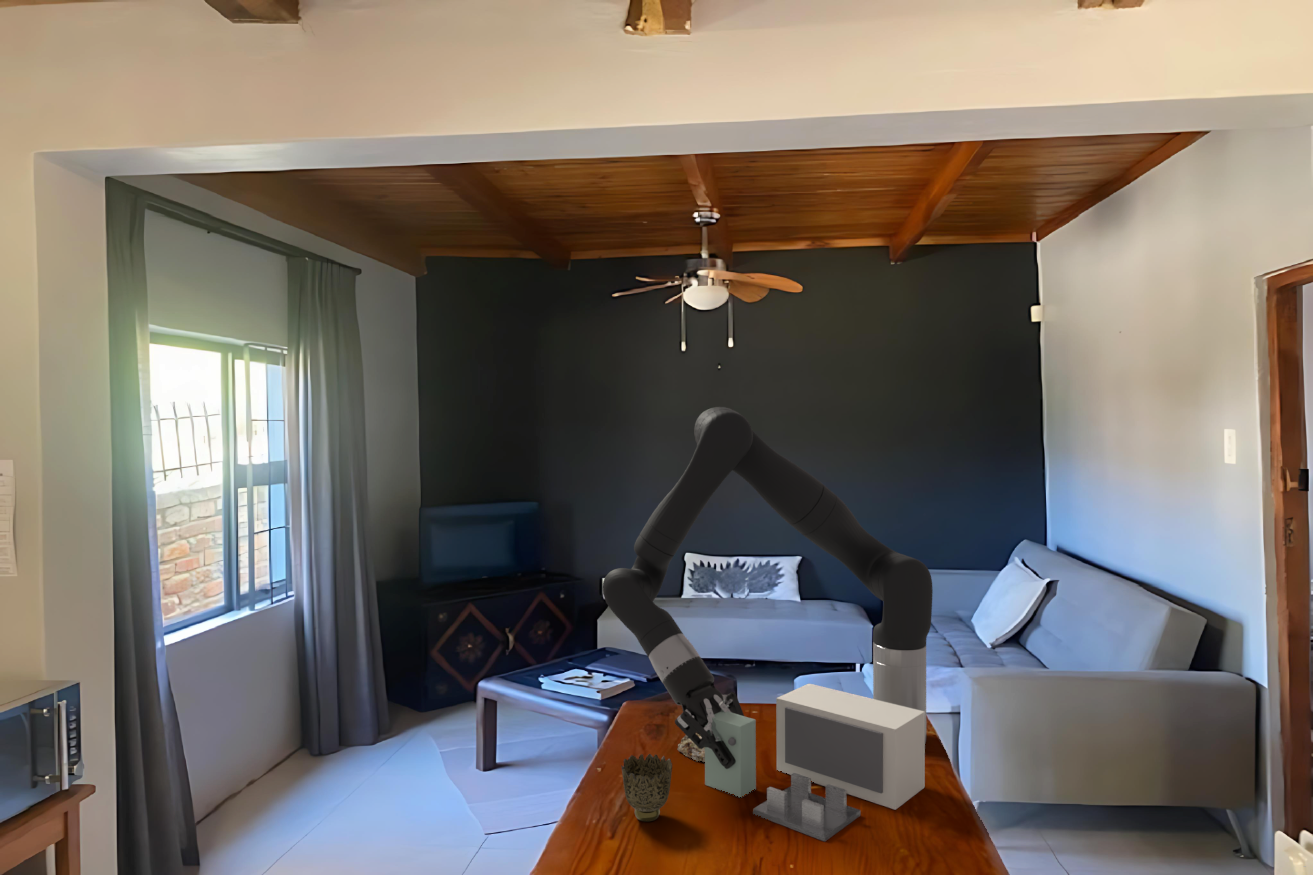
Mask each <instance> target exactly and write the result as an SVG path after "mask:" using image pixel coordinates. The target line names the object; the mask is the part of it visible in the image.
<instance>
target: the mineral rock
mask: <svg viewBox="0 0 1313 875" xmlns="http://www.w3.org/2000/svg"><path fill="white" fill-rule="evenodd" d="M695 734H696V735H697V736H698V737H699V738H700V739H701V738H702V737H701V736H700V735H699V734H698V733H695ZM677 751H678V752H680V753H681V754H683V756H684V755H685V756H684V757H686V758H689V759H691V758H692V759H693V761H694V760H696V761H695V762H697V763H698V761H699V762H700V761H702V762H701V763H704V762H705V747H704V748H703V749H700V748H698V746H697V745H696V744H695V743H694V742H693V741H692V740H691V739H690V738H689V737H688V736H687V735H686V734H684V736H683V737H682V738H681V740H680V743H678V744H677ZM692 759H691V760H692Z"/></svg>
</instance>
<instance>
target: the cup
mask: <svg viewBox="0 0 1313 875" xmlns="http://www.w3.org/2000/svg"><path fill="white" fill-rule="evenodd" d="M620 766H621V773H622V781H623V790H624V794H625V798H626V801H627V803H628V804H629V806H630V807H631V808H633V809H634V815H635V818H636V819H637V820H639V821H641V822H653V821H655V820H658V818H659V816H660V813H661V811H660V809H661V808H662V807H664V806H665V805H666V803H667V801H668V798H669V794H670V790H671V782H672V781H671V780H672V772H673V763H672V761H671V758H668V759H666V757H665V755H663V756H662V757H661V759H660V758H659V756H658V755H657V754H654V755H652V754H651V753H649V754H648V755H647V756H646V757H645V758H644V754H642V753H641V754H640V755H639V757H638V758H637V757H636V756H635V755H632V754H631V755H630V756H629V757H628V759H627V758H624V759H623V765H620Z"/></svg>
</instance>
